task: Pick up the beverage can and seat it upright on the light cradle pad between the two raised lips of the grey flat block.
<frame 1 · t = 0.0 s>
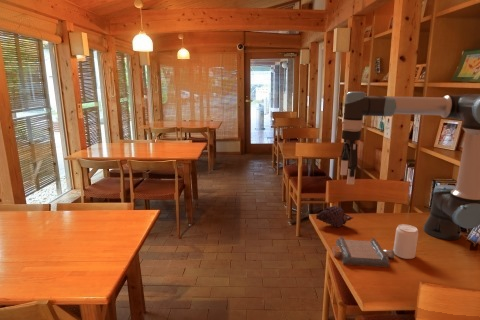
hand: (346, 179, 143), 28 cm above the table, fingers open, 13 cm apart
pine cone: (333, 226, 164), on the table
beverage can: (403, 255, 138), on the table
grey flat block: (360, 255, 136), on the table
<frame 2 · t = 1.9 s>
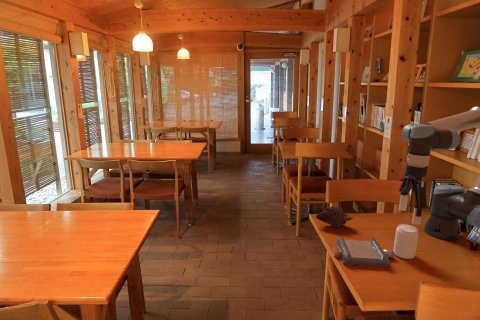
hand: (408, 216, 134), 17 cm above the table, fingers open, 13 cm apart
nothing on the table moved.
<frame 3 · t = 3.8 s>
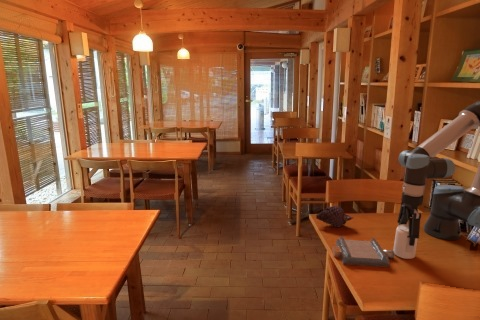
hand: (404, 246, 137), 4 cm above the table, fingers closed on beverage can, 8 cm apart
beverage can: (403, 255, 138), on the table, touching gripper
everything else where it was.
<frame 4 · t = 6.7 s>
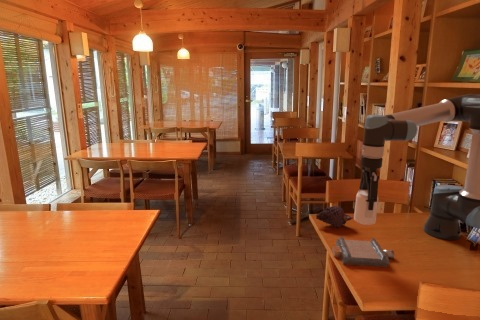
hand: (365, 212, 132), 19 cm above the table, fingers closed on beverage can, 8 cm apart
beverage can: (364, 222, 133), point 15 cm above the table, touching gripper
everything else where it was.
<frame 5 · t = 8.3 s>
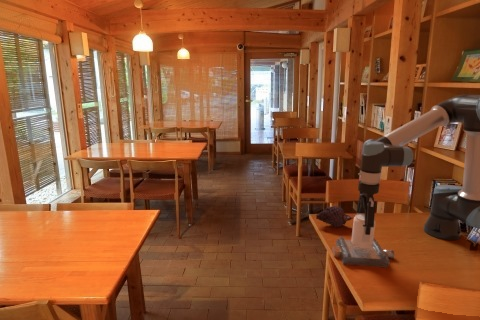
hand: (362, 236, 134), 9 cm above the table, fingers closed on beverage can, 8 cm apart
beverage can: (361, 245, 135), point 5 cm above the table, touching gripper
everything else where it was.
when the fingers open (7 cm above the table, at t = 9.5 s): beverage can stays where it is, resting on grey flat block.
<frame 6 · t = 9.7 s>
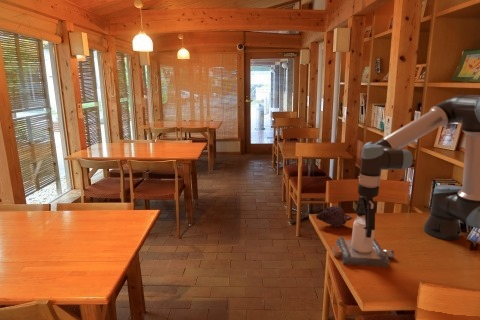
hand: (362, 237, 134), 8 cm above the table, fingers open, 11 cm apart
beverage can: (361, 249, 136), point 3 cm above the table, touching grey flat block
everything else where it was.
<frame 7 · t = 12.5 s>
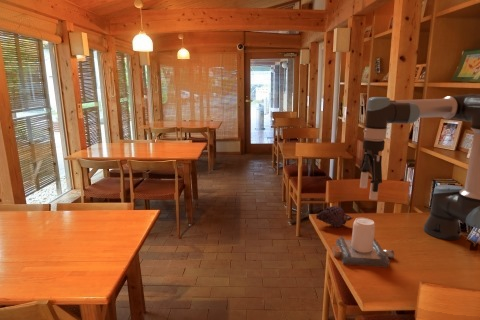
hand: (368, 193, 130), 27 cm above the table, fingers open, 13 cm apart
nothing on the table moved.
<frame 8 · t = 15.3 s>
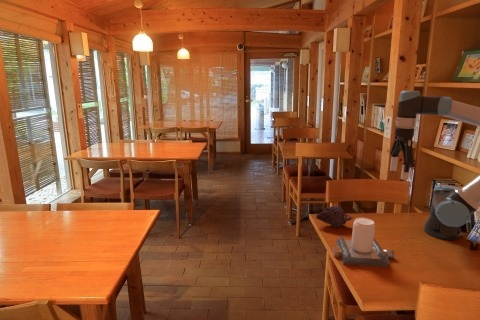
hand: (398, 174, 149), 29 cm above the table, fingers open, 13 cm apart
nothing on the table moved.
at the end: beverage can inside the target area on the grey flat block (0.0 cm from its centre), point 2.9 cm above the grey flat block's base; beverage can tilted 0°; the gripper is holding nothing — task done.
